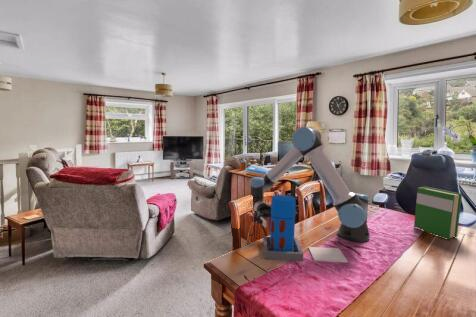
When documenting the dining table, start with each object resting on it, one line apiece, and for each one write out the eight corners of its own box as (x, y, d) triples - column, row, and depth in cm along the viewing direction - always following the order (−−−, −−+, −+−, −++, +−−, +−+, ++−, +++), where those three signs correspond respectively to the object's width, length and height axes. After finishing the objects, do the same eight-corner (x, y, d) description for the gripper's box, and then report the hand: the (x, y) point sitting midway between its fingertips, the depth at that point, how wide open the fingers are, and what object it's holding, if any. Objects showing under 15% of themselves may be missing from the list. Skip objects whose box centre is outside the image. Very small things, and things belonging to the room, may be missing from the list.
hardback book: (456, 238, 137) (462, 193, 134) (448, 240, 134) (453, 195, 131) (421, 226, 153) (425, 186, 150) (413, 228, 150) (417, 187, 147)
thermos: (293, 257, 113) (296, 202, 110) (268, 255, 115) (270, 200, 112) (293, 246, 123) (295, 195, 120) (270, 244, 125) (272, 194, 123)
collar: (296, 243, 127) (297, 237, 126) (302, 260, 110) (303, 254, 110) (263, 242, 128) (263, 236, 127) (264, 258, 111) (264, 252, 111)
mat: (338, 249, 121) (338, 248, 121) (347, 262, 109) (347, 261, 109) (308, 248, 122) (308, 246, 122) (314, 260, 110) (314, 259, 110)
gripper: (283, 214, 143) (303, 228, 123) (240, 218, 137) (254, 233, 116) (284, 201, 143) (304, 213, 122) (240, 204, 136) (254, 217, 115)
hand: (279, 223), depth 119 cm, fingers open, 13 cm apart
